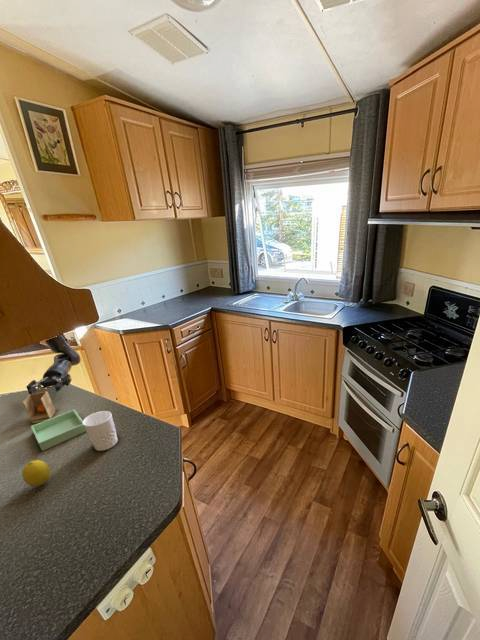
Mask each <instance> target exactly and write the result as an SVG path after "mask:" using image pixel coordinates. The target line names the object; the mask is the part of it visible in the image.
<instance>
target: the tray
mask: <svg viewBox="0 0 480 640" xmlns="http://www.w3.org/2000/svg"><path fill="white" fill-rule="evenodd" d="M83 420H84V419H82V418H81V416H80V415H79V413H78V412H77V411H76V409H72V410H69V411H67V412H64V413H62V414H59V415H56V416H53V417H52V418H51V419H48V420H46V421H41V422H37V423H36V424H33V425H30V428H31V430H32V433H33V435H34V437H35V439H36V441H37V443H38V446H39V448H40V450H41V451H43V452H44V451H45V450H48V449H49V448H53V447H54V446H56V445H59V444H61V443H63V442H65V441H68V440H70V439H72V438H75V437H76V436H79V435H82V434H83V433H87V432H86V430H85V427H84V425H83Z"/></svg>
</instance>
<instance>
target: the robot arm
mask: <svg viewBox="0 0 480 640" xmlns="http://www.w3.org/2000/svg"><path fill="white" fill-rule="evenodd" d="M44 342H45V344H46V345H47V348H49V350H50V352H52V353H54V354H55V355H54V357H53V362H52V364H51V365H50V366H49V367H48V368H47V370H46V371H45V372H44V373H43V375H42V379H40V380H38V381H37V380H35V379H33V380H31V381H30V382H29V383H28V385H26V389H27V392H28V395H29V394H34V393H38V392H39V391H43V390H45V389H47V388H50V387H54V389H55V392H59V391H61V390H62V389H63V388H64V387H65V386H67V387H68V386H70V384H71V382H72V379H73V378H72V377H71V374H70V372H71V369H72V368H73V367H75V366H77V365H79V364H80V363H81V360H82V359H81V356H80V354H79V353H78V352H77V351H76V350H75V349H74V348H73V347H72V346H71V345H70V344H68V343H67V341H66V339H65V338H64V336H63V334H62V335H59V336H57V337H55V338H52V339H49V340H46V341H44Z"/></svg>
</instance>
